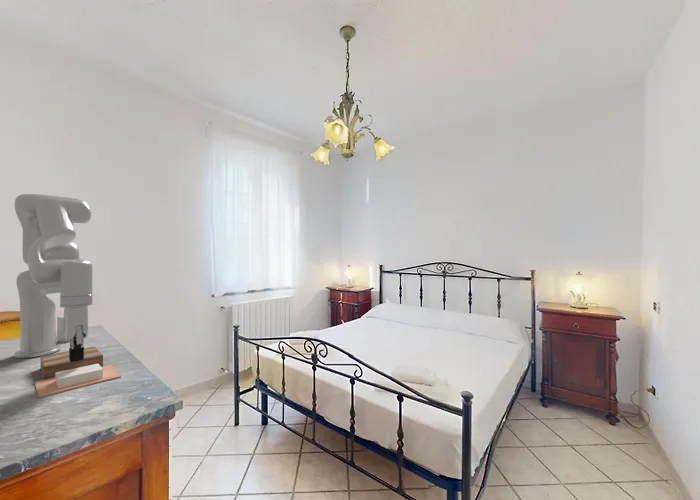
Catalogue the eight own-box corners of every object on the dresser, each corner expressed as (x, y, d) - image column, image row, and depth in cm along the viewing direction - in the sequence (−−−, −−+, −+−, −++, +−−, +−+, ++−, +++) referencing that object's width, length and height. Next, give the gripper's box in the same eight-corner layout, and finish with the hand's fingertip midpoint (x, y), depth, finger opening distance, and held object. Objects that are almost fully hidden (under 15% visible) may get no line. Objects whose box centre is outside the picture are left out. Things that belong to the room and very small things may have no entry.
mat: (34, 382, 92) (34, 381, 92) (110, 365, 105) (110, 364, 105) (38, 397, 83) (38, 396, 83) (121, 377, 96) (121, 375, 96)
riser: (40, 368, 103) (40, 356, 103) (94, 357, 113) (94, 346, 113) (44, 380, 94) (44, 367, 94) (103, 367, 104) (103, 355, 104)
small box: (67, 342, 132) (67, 317, 132) (56, 341, 133) (56, 316, 133) (86, 337, 140) (86, 313, 140) (76, 336, 141) (76, 313, 141)
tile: (58, 379, 87) (58, 388, 87) (103, 369, 95) (103, 377, 95) (55, 372, 92) (55, 381, 92) (98, 363, 100) (98, 371, 100)
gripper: (57, 299, 98) (57, 357, 98) (63, 305, 88) (63, 370, 88) (88, 296, 104) (87, 351, 104) (97, 302, 94) (97, 363, 94)
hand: (76, 360), depth 96 cm, fingers closed
